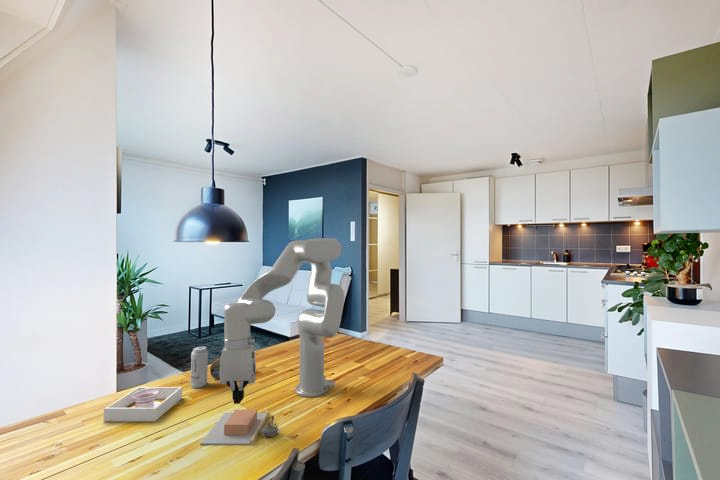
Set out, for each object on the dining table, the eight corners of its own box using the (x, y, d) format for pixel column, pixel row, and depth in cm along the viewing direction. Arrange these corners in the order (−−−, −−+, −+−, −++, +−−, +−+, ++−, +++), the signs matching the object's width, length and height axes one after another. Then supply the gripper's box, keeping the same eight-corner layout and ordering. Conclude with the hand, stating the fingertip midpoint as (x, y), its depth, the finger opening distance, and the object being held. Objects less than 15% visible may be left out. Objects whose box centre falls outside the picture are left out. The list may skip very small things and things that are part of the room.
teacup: (171, 409, 111) (172, 391, 111) (131, 424, 101) (132, 404, 101) (154, 400, 117) (155, 383, 117) (115, 413, 107) (116, 395, 107)
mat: (268, 414, 107) (268, 410, 108) (252, 444, 90) (252, 440, 91) (224, 414, 107) (224, 410, 107) (200, 444, 90) (200, 440, 90)
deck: (235, 419, 103) (257, 419, 103) (223, 435, 94) (247, 435, 94) (235, 409, 103) (257, 409, 104) (224, 424, 94) (247, 424, 95)
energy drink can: (187, 386, 128) (188, 349, 129) (200, 381, 134) (201, 345, 134) (196, 390, 125) (197, 351, 126) (210, 384, 131) (211, 347, 131)
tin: (210, 381, 134) (210, 360, 135) (209, 378, 137) (209, 358, 137) (247, 374, 142) (247, 354, 143) (245, 371, 145) (246, 353, 145)
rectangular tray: (182, 398, 119) (182, 387, 119) (154, 421, 102) (155, 408, 103) (137, 398, 118) (138, 387, 118) (103, 421, 102) (103, 408, 102)
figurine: (260, 440, 92) (264, 418, 93) (259, 433, 96) (262, 412, 97) (279, 439, 94) (282, 417, 95) (276, 432, 98) (280, 411, 99)
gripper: (265, 338, 104) (265, 395, 104) (218, 339, 104) (219, 396, 104) (258, 346, 96) (258, 407, 96) (208, 347, 96) (208, 408, 96)
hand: (238, 401), depth 100 cm, fingers closed
